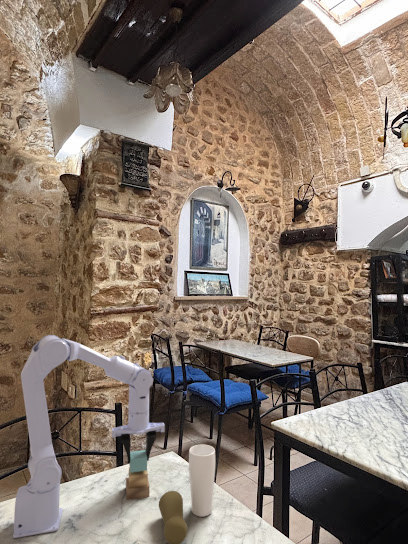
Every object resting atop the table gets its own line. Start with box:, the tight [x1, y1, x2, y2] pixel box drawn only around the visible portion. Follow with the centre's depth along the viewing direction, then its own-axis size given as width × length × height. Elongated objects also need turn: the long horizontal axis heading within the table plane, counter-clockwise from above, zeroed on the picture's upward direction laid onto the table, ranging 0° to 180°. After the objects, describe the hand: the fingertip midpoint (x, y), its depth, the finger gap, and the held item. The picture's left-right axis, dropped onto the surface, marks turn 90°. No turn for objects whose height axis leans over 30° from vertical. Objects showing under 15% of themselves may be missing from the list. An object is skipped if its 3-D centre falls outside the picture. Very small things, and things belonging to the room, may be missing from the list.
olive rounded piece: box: [158, 490, 188, 544], centre depth 78 cm, size 6×6×11 cm
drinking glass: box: [188, 443, 216, 518], centre depth 85 cm, size 7×7×15 cm
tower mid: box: [128, 466, 149, 488], centre depth 93 cm, size 5×5×3 cm
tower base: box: [125, 477, 150, 501], centre depth 93 cm, size 6×6×3 cm
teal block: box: [128, 449, 148, 473], centre depth 93 cm, size 4×4×4 cm
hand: (138, 460), depth 94 cm, fingers closed on teal block, 4 cm apart
